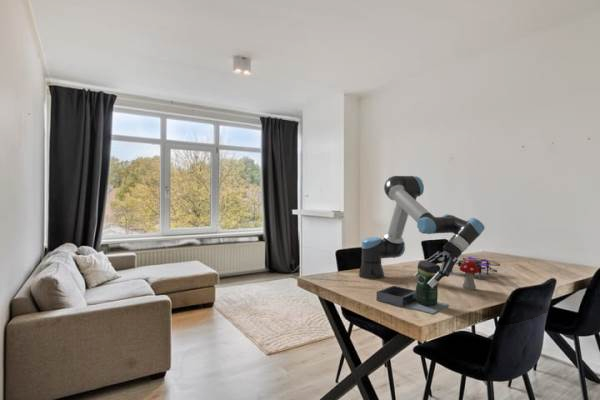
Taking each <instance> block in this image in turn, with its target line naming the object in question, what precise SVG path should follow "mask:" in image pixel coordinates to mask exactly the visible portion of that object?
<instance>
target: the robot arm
mask: <svg viewBox="0 0 600 400" xmlns="http://www.w3.org/2000/svg"><path fill="white" fill-rule="evenodd" d="M423 182H424V181H423V180H422V179H421V178H420V177H419V176H415V175H393V176H391V177H389V178H388V179H386V181H385V183H384V186H383V189H384V193H385V195H386V196H387V198H388V199H390V200H391V201H394V202H395V206H394V210H393V214H392V217H391V220H390V223H389V228H388V231H387V232H386V233H385V234H384V235H383V239H382V238H381V237H378V236H374V237H373V236H372V237H367V238H364V239H362V241H361V265H360V268H359V271H358V276H359V277H360V278H363V279H368V280H369V279H370V280H371V279H372V280H378V279H383V278H385V272H384V268H383V265H382V259H391V258H393V259H394V258H395V259H396V258H400V257H401V256H403V255H404V253H405V252H406V244H405V241H404V238H403V234H404V231H405V227H406V225H407V221H408V217H409V216H410V217H411V218H412V219H413V220H414V221H415V222H416V227H417V229H418V232H420V233H421V234H423V235H424V234H427V235H432V234H433V235H434V234H448V233H451V234H453V235H452V237H451V238H450V239H449V240H448V241H447V242H446V243H445V244H444V245H443V247H442V250H443V251H442V252H441V251H440V250H438V251H436V252H435V253H434V254H432V255H431V256H430V257H428V258H427V259H426V260H424V261H429V262H431V263H434V264H436V265H438V264H441V265H440V271H438V272H437V273H436V274H435V276H434V277H433V278H432V279H431V280H430V281H429V282H428V284H429V285H430V286H431V287H432V288H433V287H434V286H435V285H436V284H437V283H438V284H439V282H440V281H441V280H442V278H444V277H447V278H448V277H450V275H451V271H452V272H453V268H454V266H455V263H458V262H457V260H459V259H458V258H460V256H461V255H462V253H464V252H465V251H466V250H467V249H468V248H469V246H471V244H473V242H474V241H475V240H476V239H478V237H480V236H481V234H482V233H483V232H484V231H485V227H486V226H485V225H484V224H483V222H481V221H480V220H479V219H477V218H475V217H471V218H470V219H467V220H464V219H462V218H460V217H457V216H455V215H452V214H444V215H443V216H434V215H433V214H432V213H431V212H430V211H429V210H427V209H426V208H425V207H424V206H423V205H422V204H421V203H420V202H419V201H418V200H417V198H418V197H421V196H422V195H423V193H424V191H425V190H424V189H425V188H424V187H425V186H424V183H423ZM413 276H414V278H416V279H417V278H418V271H417V272H416V273H415V274H414V275H413Z"/></svg>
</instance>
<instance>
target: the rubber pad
mask: <svg viewBox="0 0 600 400" xmlns="http://www.w3.org/2000/svg"><path fill="white" fill-rule="evenodd" d="M449 304H450V303H449ZM449 304H448V303H445V302H444V303H443V302H439V301H437V304H436V305H433V306H430V305H424V304H422V303H420V302H418V301H415V302H413V303H410V304H408V305H406V306H405V307H406V309H411V310H414V311H418V312H423V313H426V314H431V315H434V313H435V314H437V313H438V312H440V311H441V310H443V309H445V308H447V307H449Z"/></svg>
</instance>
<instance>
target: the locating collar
mask: <svg viewBox="0 0 600 400" xmlns="http://www.w3.org/2000/svg"><path fill="white" fill-rule="evenodd" d="M415 292H416V289H415V290H414V289H412V288H406V287H403V286H402V287H401V286H397V285H391V286H389V287H386V288H383V289H380V290H378V291H376V301H377V302H382V303H385V304H389V305H393V306H398V307H401V308H404V307H406V306H408V305H410V304H412V303H414V302H416V301H417V300H416V299H415Z"/></svg>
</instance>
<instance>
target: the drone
mask: <svg viewBox="0 0 600 400" xmlns="http://www.w3.org/2000/svg"><path fill="white" fill-rule="evenodd" d="M466 260H470V261H473V262H474V263H476V265H477V267H478V268H479V273H478V274H479V275H478V277H479V278H478V279H479V281H482V271H485V272H486V276H489V271H492V273H494V272H495V273H498V270H497V269H495V268H493V267H492V266H496V267H500V266H501V264H500V263H499V262H497V261H495V260H491V259H490V260H489V259H487V258H479V257H478V256H477V257H472V256H468V257H462V260H461V259H460V260H459V259H458V260H457V262H456V263H455V265H456V266H458V267H459V268H460V266H461V264H462V263H463V262H464V261H466ZM455 265H454V266H455ZM451 274H453V270H452V271H451V273H450V275H451ZM475 275H476V273H473V277H474V276H475Z"/></svg>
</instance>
